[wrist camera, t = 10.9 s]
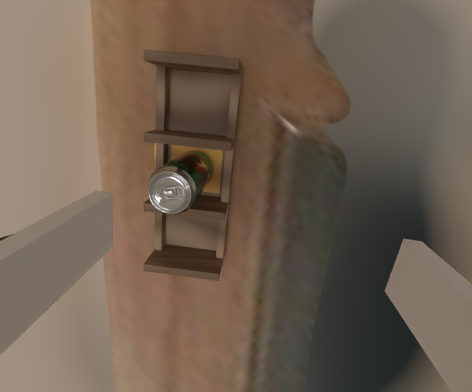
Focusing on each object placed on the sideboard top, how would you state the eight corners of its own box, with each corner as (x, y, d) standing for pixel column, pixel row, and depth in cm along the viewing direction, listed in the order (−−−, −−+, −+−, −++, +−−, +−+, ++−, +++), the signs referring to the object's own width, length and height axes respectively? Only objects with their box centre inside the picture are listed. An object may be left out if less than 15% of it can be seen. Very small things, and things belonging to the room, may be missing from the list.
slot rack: (162, 59, 36) (141, 49, 29) (242, 67, 35) (239, 58, 29) (158, 247, 44) (141, 270, 37) (224, 255, 43) (218, 280, 37)
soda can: (174, 152, 38) (138, 170, 27) (211, 147, 38) (190, 164, 26) (181, 187, 40) (149, 219, 28) (216, 184, 39) (198, 215, 28)
